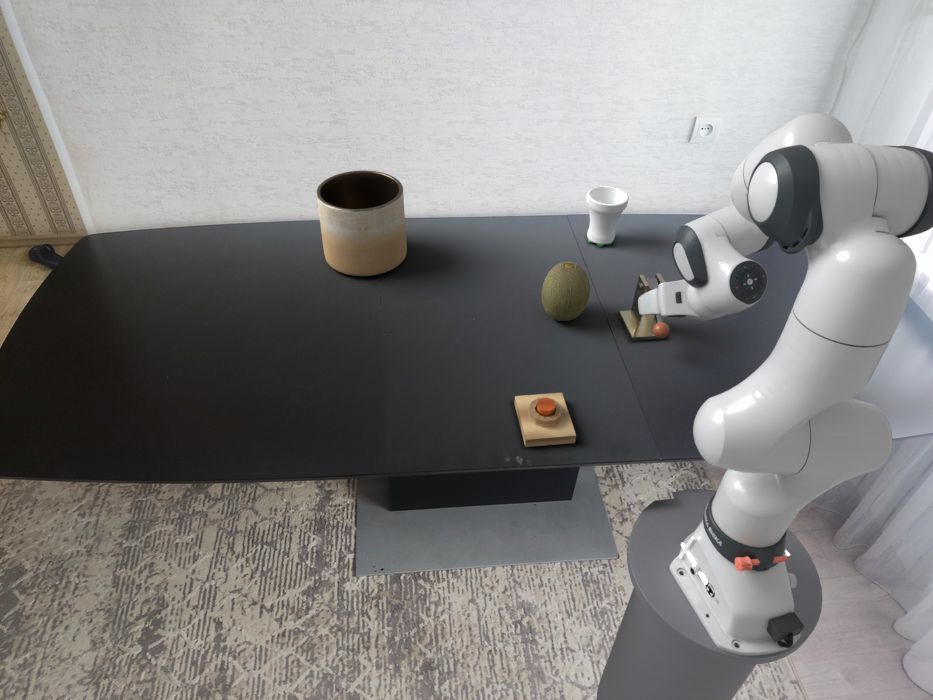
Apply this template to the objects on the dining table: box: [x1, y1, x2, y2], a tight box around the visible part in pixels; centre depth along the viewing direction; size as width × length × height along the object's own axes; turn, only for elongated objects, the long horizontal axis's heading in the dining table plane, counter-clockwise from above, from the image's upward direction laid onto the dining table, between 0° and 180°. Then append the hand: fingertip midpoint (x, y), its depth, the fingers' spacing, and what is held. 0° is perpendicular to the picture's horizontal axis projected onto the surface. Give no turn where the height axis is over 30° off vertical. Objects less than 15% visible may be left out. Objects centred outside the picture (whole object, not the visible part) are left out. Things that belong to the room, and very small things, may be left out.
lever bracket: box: [618, 273, 666, 342], centre depth 153 cm, size 10×8×14 cm
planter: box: [316, 169, 408, 277], centre depth 172 cm, size 22×22×20 cm
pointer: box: [646, 277, 671, 339], centre depth 148 cm, size 14×4×4 cm, turn 7°
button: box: [537, 398, 555, 417], centre depth 131 cm, size 4×4×2 cm
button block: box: [514, 392, 577, 448], centre depth 133 cm, size 12×10×4 cm
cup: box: [585, 185, 630, 248], centre depth 182 cm, size 11×11×14 cm
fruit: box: [541, 261, 591, 322], centre depth 156 cm, size 11×11×15 cm
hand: (675, 307), depth 138 cm, fingers closed
